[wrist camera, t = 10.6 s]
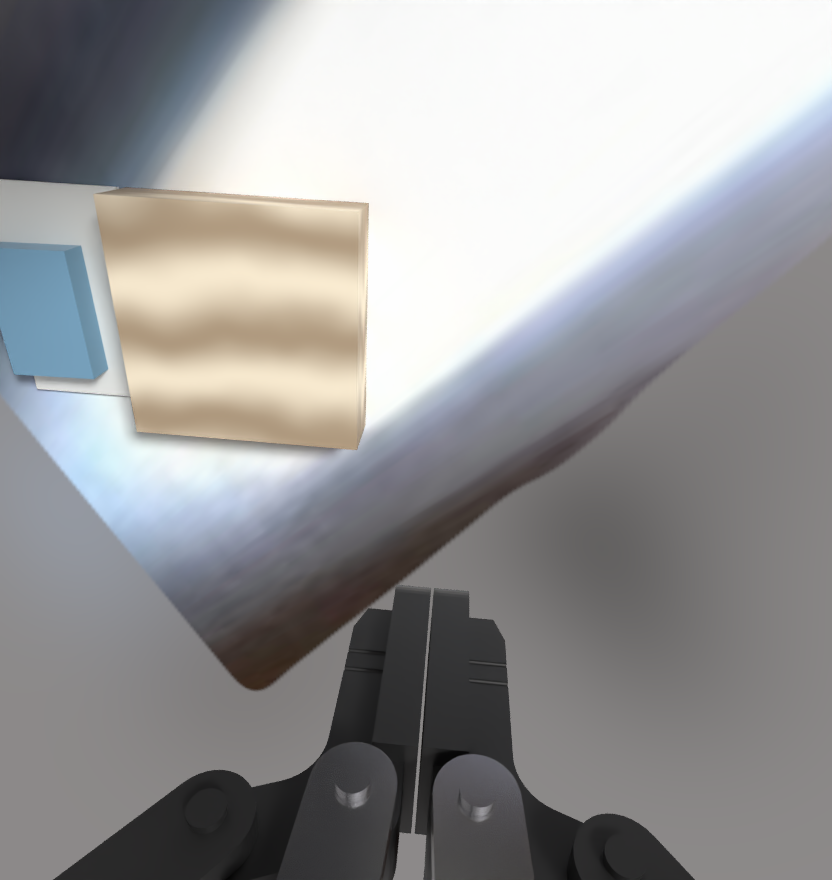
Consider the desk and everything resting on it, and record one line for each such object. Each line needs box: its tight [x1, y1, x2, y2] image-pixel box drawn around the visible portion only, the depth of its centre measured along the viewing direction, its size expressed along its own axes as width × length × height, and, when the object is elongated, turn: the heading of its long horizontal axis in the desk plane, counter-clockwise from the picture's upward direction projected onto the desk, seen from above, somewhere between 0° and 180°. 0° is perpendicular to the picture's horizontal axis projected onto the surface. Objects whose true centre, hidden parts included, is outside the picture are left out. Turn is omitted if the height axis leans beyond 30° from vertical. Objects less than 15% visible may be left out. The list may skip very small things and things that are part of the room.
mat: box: [0, 179, 130, 396], centre depth 43 cm, size 15×9×1 cm, turn 177°
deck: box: [93, 187, 369, 450], centre depth 42 cm, size 16×16×4 cm
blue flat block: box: [0, 242, 108, 379], centre depth 43 cm, size 9×6×2 cm, turn 178°
